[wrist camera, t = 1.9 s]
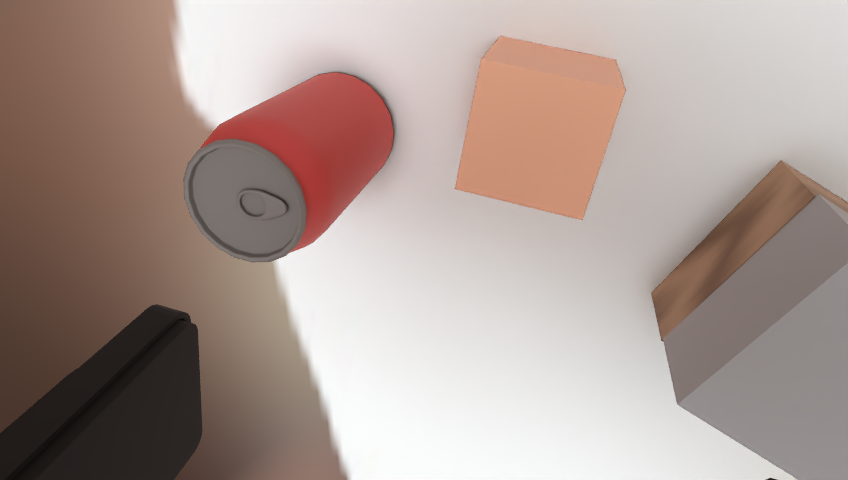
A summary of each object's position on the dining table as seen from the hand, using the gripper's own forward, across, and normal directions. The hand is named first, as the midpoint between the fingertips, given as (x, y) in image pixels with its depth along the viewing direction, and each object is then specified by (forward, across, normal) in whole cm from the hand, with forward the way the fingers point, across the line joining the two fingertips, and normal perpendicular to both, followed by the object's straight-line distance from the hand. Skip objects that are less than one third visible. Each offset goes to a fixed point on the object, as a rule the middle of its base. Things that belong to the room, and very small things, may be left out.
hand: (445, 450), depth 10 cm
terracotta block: (+25, -1, 0) cm, 25 cm away
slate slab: (+20, -16, +7) cm, 26 cm away
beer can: (+25, +10, +4) cm, 27 cm away
